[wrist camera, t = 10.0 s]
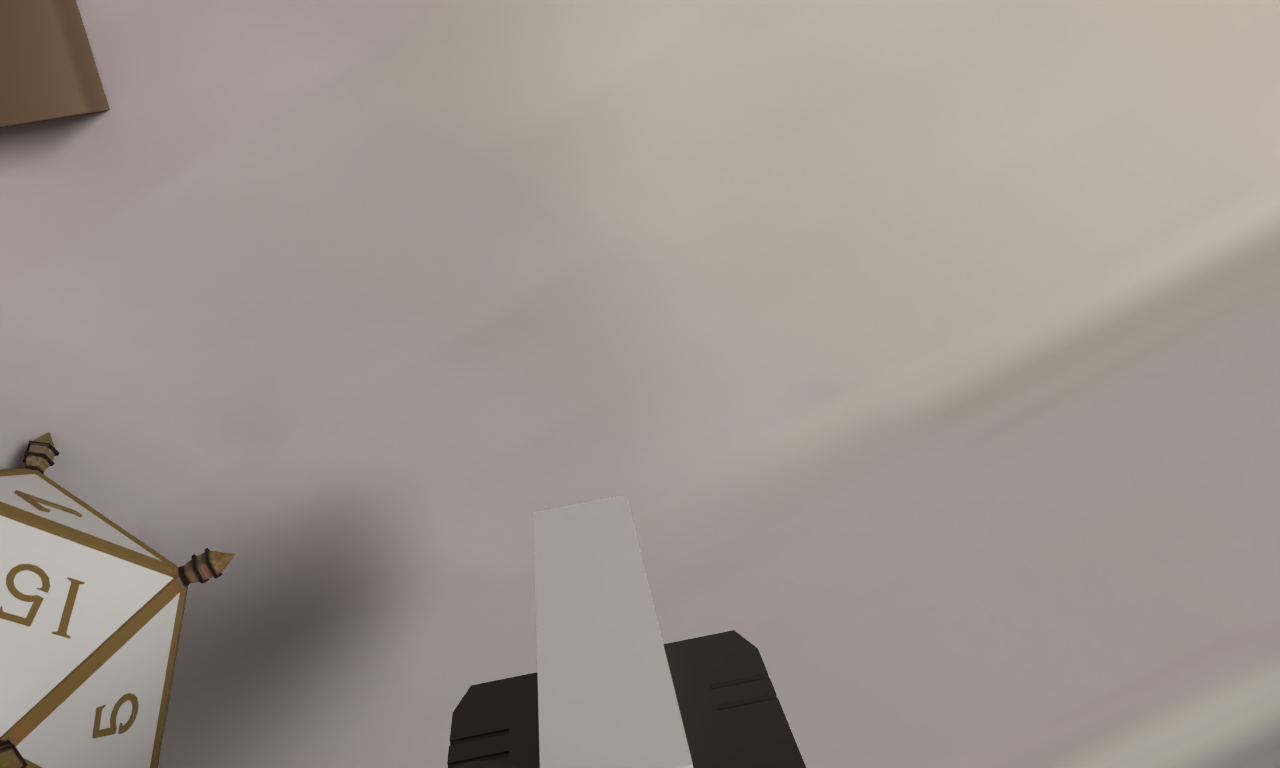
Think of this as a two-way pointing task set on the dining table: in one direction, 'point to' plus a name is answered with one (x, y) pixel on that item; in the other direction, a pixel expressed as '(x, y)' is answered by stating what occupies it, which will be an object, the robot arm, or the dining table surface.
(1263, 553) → the dining table surface
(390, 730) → the dining table surface
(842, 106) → the dining table surface
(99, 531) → the game die
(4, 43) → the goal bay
